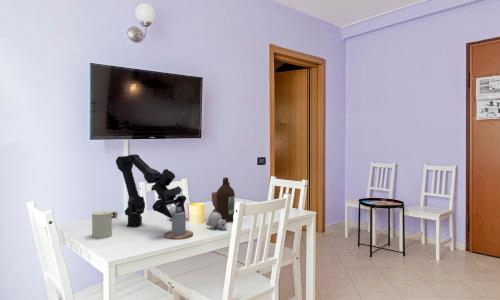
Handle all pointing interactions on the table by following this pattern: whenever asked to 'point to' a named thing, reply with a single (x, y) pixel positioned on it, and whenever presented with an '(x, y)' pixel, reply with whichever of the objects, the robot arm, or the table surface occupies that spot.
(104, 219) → the can
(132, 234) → the table surface
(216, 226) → the chubby cartoon animal
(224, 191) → the olive oil
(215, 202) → the mortar and pestle
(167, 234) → the cheese board
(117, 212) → the grandmother figurine
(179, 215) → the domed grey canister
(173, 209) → the ceramic mug
